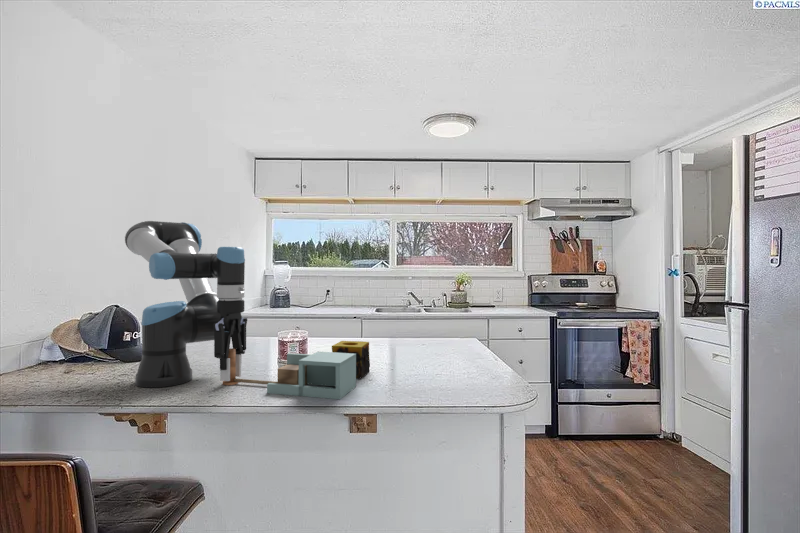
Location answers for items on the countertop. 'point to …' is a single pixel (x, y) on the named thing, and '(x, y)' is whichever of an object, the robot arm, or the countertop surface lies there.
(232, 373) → the tethered block
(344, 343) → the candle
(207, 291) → the robot arm
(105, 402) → the countertop surface
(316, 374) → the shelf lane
